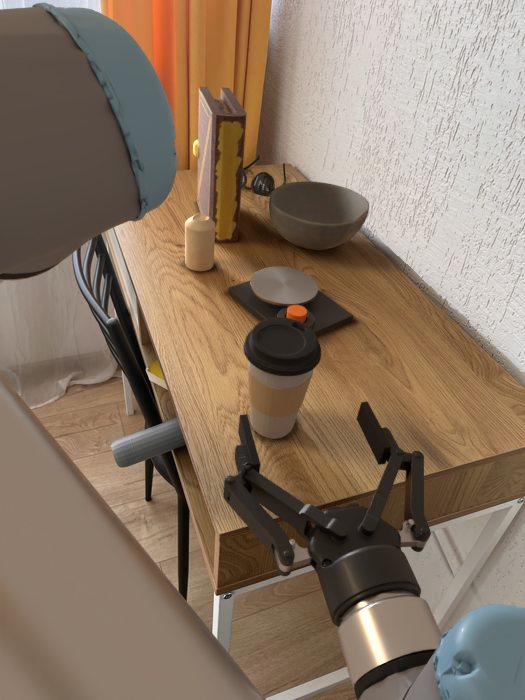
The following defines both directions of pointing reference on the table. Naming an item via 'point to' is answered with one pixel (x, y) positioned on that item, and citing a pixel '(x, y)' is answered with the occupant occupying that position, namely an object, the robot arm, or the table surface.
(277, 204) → the bowl
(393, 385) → the table surface
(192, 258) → the candle
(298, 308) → the tare button
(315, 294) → the scale pan
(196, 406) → the table surface
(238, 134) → the book
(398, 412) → the table surface
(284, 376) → the coffee cup
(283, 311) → the scale
